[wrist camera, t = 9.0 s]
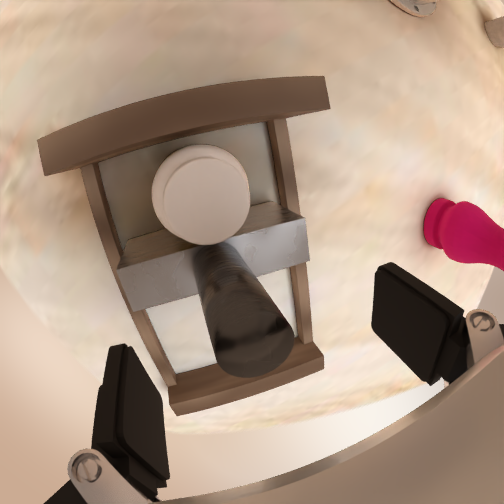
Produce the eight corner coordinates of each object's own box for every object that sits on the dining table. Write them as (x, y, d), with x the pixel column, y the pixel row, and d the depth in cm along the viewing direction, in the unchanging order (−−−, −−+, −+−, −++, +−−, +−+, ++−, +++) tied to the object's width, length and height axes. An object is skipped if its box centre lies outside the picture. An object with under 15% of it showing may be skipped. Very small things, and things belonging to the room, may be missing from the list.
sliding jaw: (128, 239, 21) (87, 359, 8) (272, 201, 23) (389, 265, 11) (139, 273, 22) (123, 410, 9) (277, 234, 24) (385, 323, 12)
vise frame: (78, 130, 17) (34, 122, 10) (272, 85, 20) (320, 60, 13) (175, 391, 28) (183, 450, 20) (308, 349, 31) (342, 397, 23)
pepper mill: (452, 234, 32) (567, 292, 14) (422, 257, 31) (547, 333, 13) (450, 186, 29) (581, 233, 11) (417, 205, 28) (568, 270, 10)
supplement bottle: (230, 207, 23) (272, 246, 14) (164, 222, 22) (163, 272, 13) (220, 140, 21) (258, 133, 12) (150, 154, 19) (135, 156, 11)
